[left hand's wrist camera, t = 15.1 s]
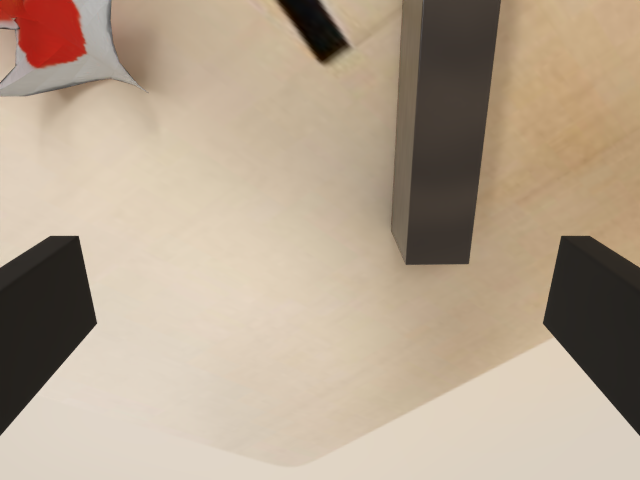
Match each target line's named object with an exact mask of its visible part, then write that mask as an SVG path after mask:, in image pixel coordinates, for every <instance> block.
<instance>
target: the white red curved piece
mask: <svg viewBox="0 0 640 480" xmlns="http://www.w3.org/2000/svg"><path fill="white" fill-rule="evenodd" d="M12 18H15V20H13V19H12ZM110 19H111V0H0V29H12V30H15V34H16V39H17V48H16V66H15V67H14V68H13V70H12V71H11V72H10V73H9V74H8V75H7V76H6V77H5V78H4V79H3V80H2V81H1V82H0V96H29V95H34V94H39V93H43V92H48V91H53V90H58V89H62V88H67V87H71V86H75V85H79V84H83V83H87V82H91V81H97V80H103V79H109V78H111V79H115V80H119V81H122V82H126V83H129V84H133V85H135V86H137V87H138V88H140V89H142V90H144V89H143V88H142V87H141V86H139V85H138V84H137V83H136V82H135V80H134V79H133V78H132V77H131V76H130V75H129V73H128V72H127V71H126V70H125V68H124V67H123V66H122V65H121V63H120V62H119V59H118V56H117V53H116V50H115V47H114V44H113V37H112V29H111V21H110ZM144 91H146V90H144ZM146 92H147V91H146ZM147 93H148V92H147Z"/></svg>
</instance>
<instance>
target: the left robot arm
mask: <svg viewBox="0 0 640 480" xmlns="http://www.w3.org/2000/svg"><path fill="white" fill-rule="evenodd" d="M96 324H97V321H96V316H95V311H94V307H93V302H92V297H91V292H90V288H89V283H88V278H87V273H86V269H85V264H84V259H83V255H82V250H81V245H80V240H79V236H50V237H48V238H46V239H45V240H43V241H42V242H40V243H38V244H37V245H35V246H34V247H32V248H31V249H29V250H27V251H26V252H24V253H23V254H21V255H20V256H18V257H16V258H15V259H13V260H12V261H10V262H9V263H7V264H5V265H4V266H2V267H1V268H0V435H1V434H2V433H3V432H4V431H5V430H6V428H7V427H8V426H9V425H10V424H11V423H12V422H13V420H14V419H15V418H16V417H17V416H18V415H19V413H20V412H21V411H22V410H23V409H24V408H25V406H26V405H27V404H28V403H29V402H30V401H31V399H32V398H33V397H34V396H35V395H36V394H37V393H38V391H39V390H40V389H41V388H42V387H43V386H44V384H45V383H46V382H47V381H48V380H49V379H50V377H51V376H52V375H53V374H54V373H55V372H56V371H57V369H58V368H59V367H60V366H61V365H62V364H63V362H64V361H65V360H66V359H67V358H68V357H69V355H70V354H71V353H72V352H73V351H74V350H75V348H76V347H77V346H78V345H79V344H80V343H81V342H82V340H83V339H84V338H85V337H86V336H87V335H88V333H89V332H90V331H91V330H92V329H93V328H94V326H95V325H96ZM543 324H544V325H545V326H546V328H547V329H548V330H549V331H550V332H551V333H552V335H553V336H554V337H555V338H556V339H557V340H558V342H559V343H560V344H561V345H562V346H563V347H564V348H565V350H566V351H567V352H568V353H569V354H570V355H571V357H572V358H573V359H574V360H575V361H576V362H577V364H578V365H579V366H580V367H581V368H582V369H583V370H584V372H585V373H586V374H587V375H588V376H589V377H590V379H591V380H592V381H593V382H594V383H595V384H596V386H597V387H598V388H599V389H600V390H601V391H602V392H603V394H604V395H605V396H606V397H607V398H608V400H609V401H610V402H611V403H612V404H613V405H614V406H615V408H616V409H617V410H618V411H619V412H620V413H621V415H622V416H623V417H624V418H625V419H626V420H627V422H628V423H629V424H630V425H631V426H632V427H633V428H634V430H635V431H636V432H637V433H638V434H639V435H640V268H639V267H638V266H636V265H635V264H633V263H631V262H630V261H628V260H627V259H625V258H624V257H622V256H620V255H619V254H617V253H616V252H614V251H613V250H611V249H609V248H608V247H606V246H605V245H603V244H602V243H600V242H598V241H597V240H595V239H594V238H592V237H590V236H561V240H560V245H559V250H558V255H557V259H556V264H555V269H554V273H553V278H552V283H551V288H550V292H549V297H548V302H547V307H546V311H545V316H544V321H543Z"/></svg>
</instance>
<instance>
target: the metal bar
mask: <svg viewBox="0 0 640 480" xmlns="http://www.w3.org/2000/svg"><path fill="white" fill-rule="evenodd" d="M500 3H501V0H403V6H402V26H401V46H400V65H399V85H398V105H397V124H396V144H395V164H394V184H393V203H392V223H391V231H392V234H393V236H394V238H395V241H396V243H397V245H398V248H399V250H400V252H401V255H402V257H403V259H404V262H405V264H406V265H427V264H469V257H470V249H471V241H472V233H473V225H474V216H475V208H476V200H477V192H478V184H479V175H480V167H481V159H482V151H483V142H484V134H485V126H486V118H487V110H488V101H489V93H490V85H491V77H492V69H493V60H494V52H495V44H496V36H497V28H498V19H499V11H500Z"/></svg>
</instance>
